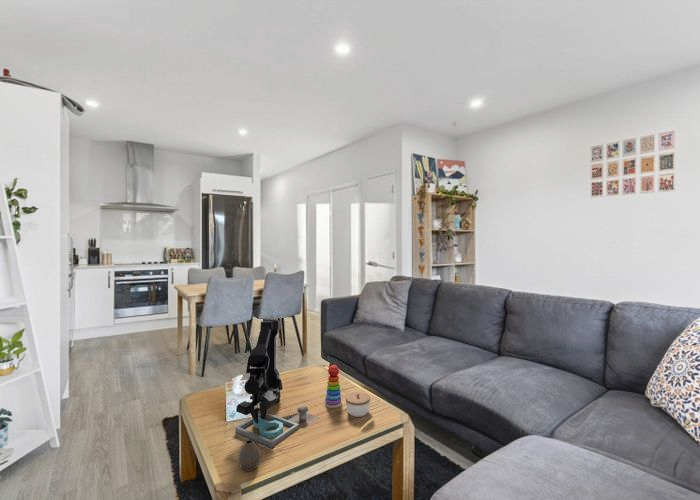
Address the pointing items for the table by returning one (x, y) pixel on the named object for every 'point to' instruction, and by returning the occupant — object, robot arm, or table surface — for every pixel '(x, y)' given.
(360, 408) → the lidded jar
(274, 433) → the ring
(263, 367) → the robot arm
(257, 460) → the vase
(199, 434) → the table surface
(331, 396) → the stacking toy
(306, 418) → the ring
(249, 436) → the tray
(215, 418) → the table surface
